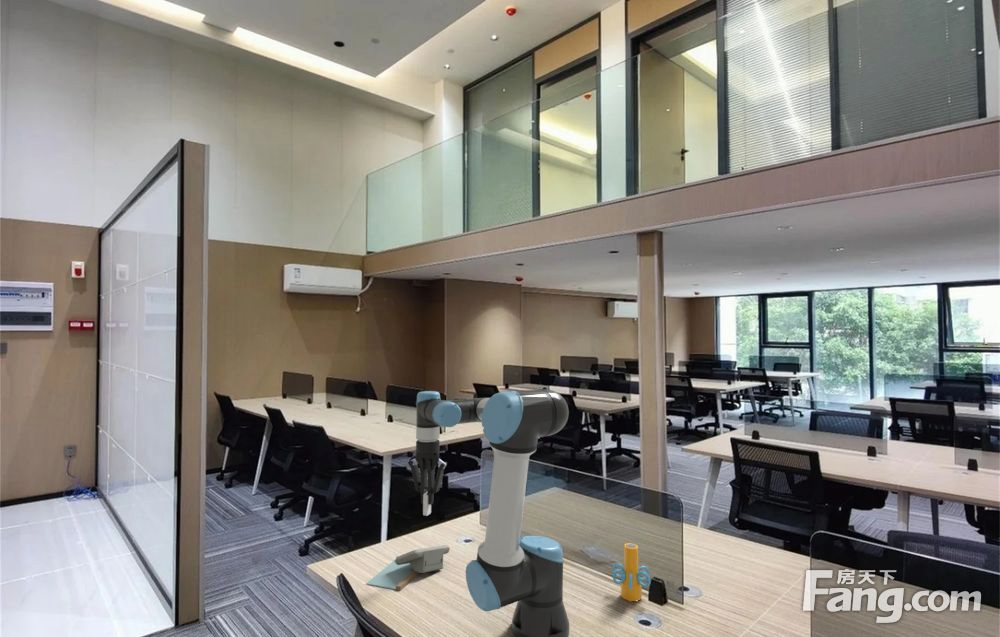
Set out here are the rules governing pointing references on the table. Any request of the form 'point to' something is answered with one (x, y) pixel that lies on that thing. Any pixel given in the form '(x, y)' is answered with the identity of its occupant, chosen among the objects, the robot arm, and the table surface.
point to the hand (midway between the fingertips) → (427, 514)
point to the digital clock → (424, 558)
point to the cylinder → (631, 574)
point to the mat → (394, 576)
